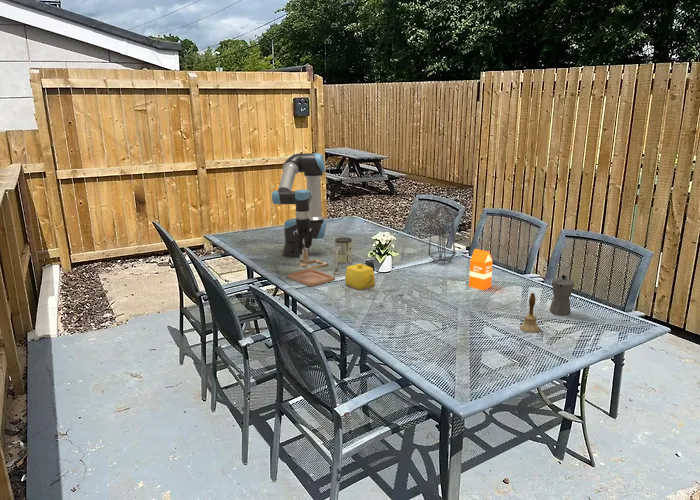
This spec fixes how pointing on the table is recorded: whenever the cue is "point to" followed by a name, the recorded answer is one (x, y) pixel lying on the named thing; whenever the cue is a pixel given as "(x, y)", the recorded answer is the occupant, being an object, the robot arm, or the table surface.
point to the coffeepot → (561, 296)
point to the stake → (336, 260)
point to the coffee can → (344, 250)
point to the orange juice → (480, 270)
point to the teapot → (360, 276)
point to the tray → (311, 277)
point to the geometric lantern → (442, 231)
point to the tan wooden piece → (305, 263)
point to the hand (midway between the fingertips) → (304, 259)
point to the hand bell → (530, 318)
